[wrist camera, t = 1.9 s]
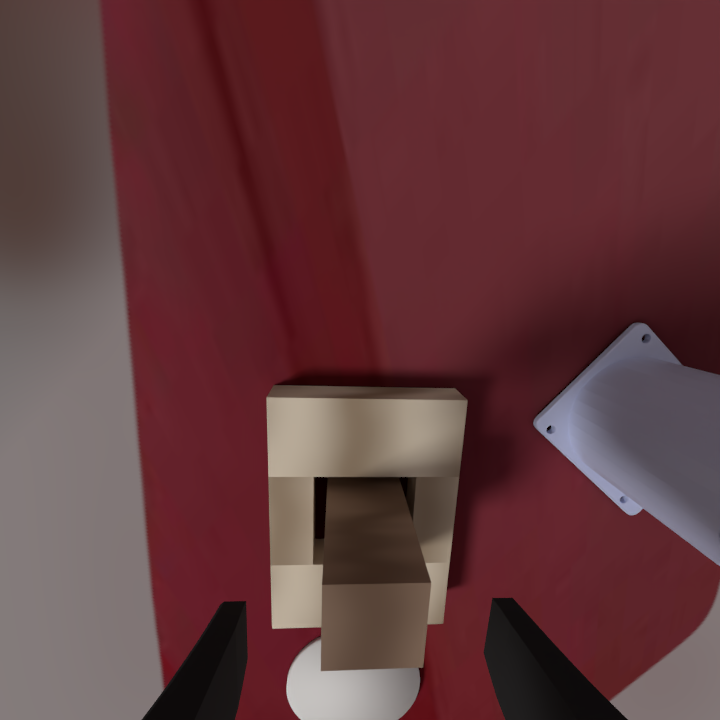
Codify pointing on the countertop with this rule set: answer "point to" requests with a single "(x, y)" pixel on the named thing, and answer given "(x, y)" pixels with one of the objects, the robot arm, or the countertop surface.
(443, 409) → the holder block
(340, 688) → the coaster
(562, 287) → the countertop surface
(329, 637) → the plug peg
